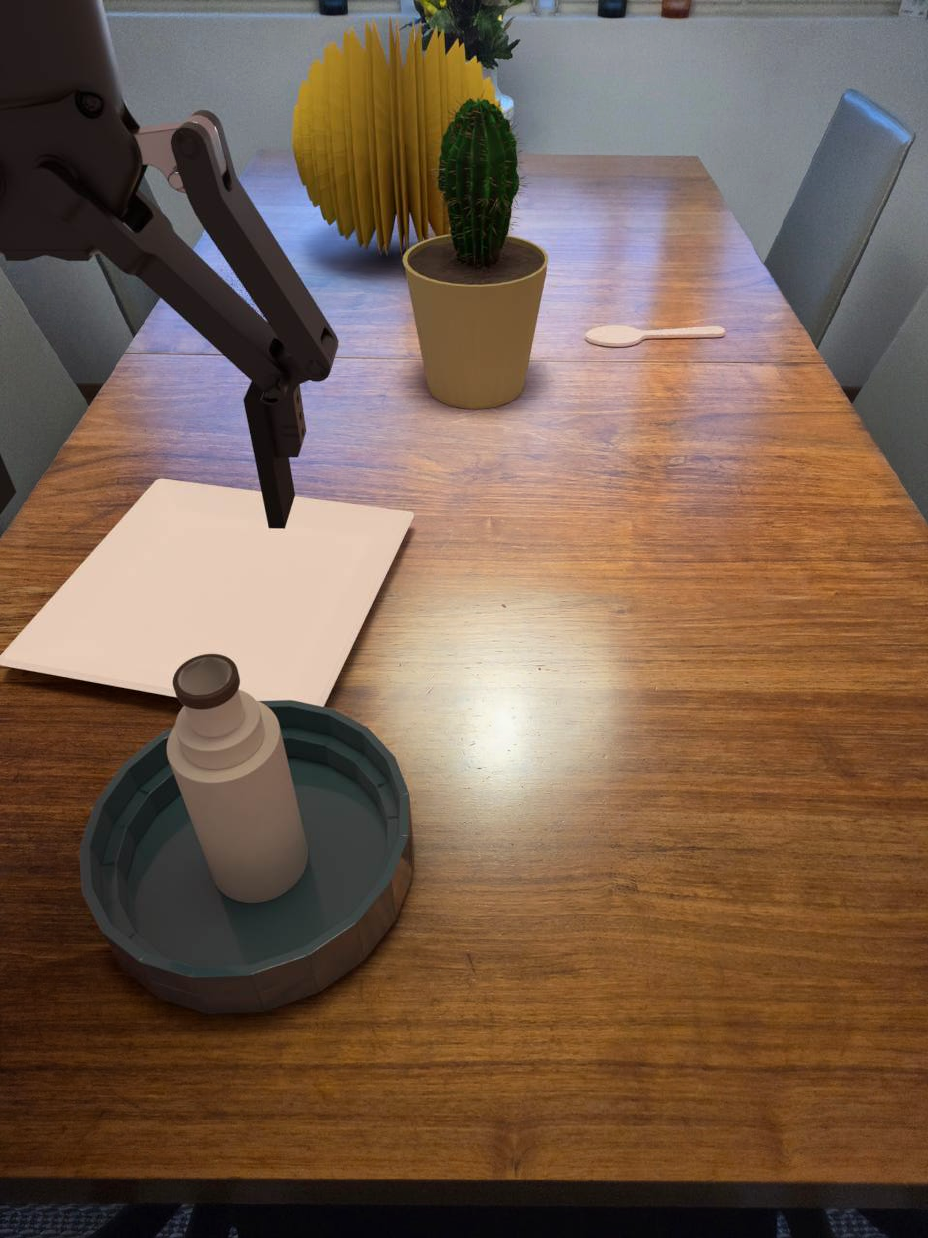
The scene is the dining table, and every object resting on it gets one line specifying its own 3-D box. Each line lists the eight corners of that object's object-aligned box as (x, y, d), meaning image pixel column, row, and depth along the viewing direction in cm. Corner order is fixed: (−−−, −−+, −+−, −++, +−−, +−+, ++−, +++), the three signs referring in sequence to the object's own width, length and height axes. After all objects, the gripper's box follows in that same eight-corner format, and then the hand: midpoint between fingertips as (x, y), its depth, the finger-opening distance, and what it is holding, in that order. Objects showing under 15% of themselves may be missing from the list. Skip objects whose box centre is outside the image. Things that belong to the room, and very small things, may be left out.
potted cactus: (397, 364, 106) (379, 80, 86) (517, 348, 109) (527, 70, 89) (426, 427, 95) (414, 118, 75) (559, 407, 98) (582, 105, 78)
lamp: (510, 287, 124) (517, 33, 103) (298, 293, 123) (262, 38, 102) (496, 216, 146) (499, -4, 125) (315, 221, 145) (289, -1, 125)
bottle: (219, 916, 52) (148, 735, 41) (206, 836, 57) (138, 650, 45) (317, 885, 54) (275, 701, 42) (297, 809, 58) (254, 623, 47)
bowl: (114, 1069, 47) (86, 1030, 43) (97, 792, 60) (74, 745, 57) (454, 951, 51) (453, 907, 48) (368, 718, 65) (362, 671, 61)
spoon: (730, 341, 110) (731, 337, 110) (589, 347, 109) (589, 343, 109) (718, 323, 114) (718, 319, 114) (581, 329, 113) (581, 325, 113)
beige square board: (319, 739, 63) (315, 720, 62) (1, 680, 68) (-9, 661, 66) (416, 528, 82) (415, 509, 81) (162, 493, 87) (157, 475, 85)
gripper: (376, -72, 29) (408, 468, 44) (-348, -66, 30) (-82, 464, 44) (347, -47, 24) (395, 563, 38) (-539, -40, 25) (-165, 556, 39)
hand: (139, 510), depth 41 cm, fingers open, 13 cm apart
